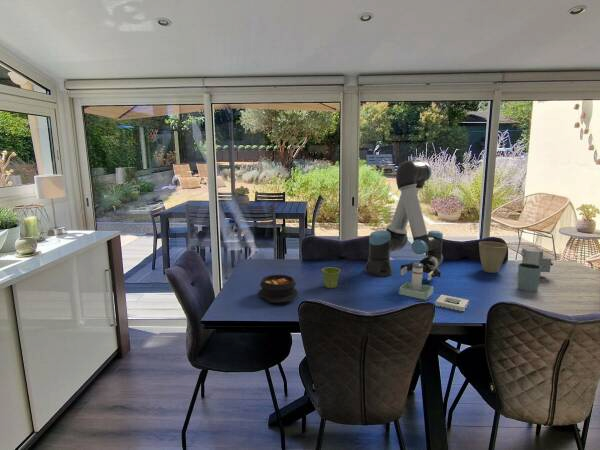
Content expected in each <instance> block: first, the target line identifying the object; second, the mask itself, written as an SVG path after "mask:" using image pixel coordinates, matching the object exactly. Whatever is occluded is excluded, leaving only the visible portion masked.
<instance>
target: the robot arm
mask: <svg viewBox="0 0 600 450" xmlns="http://www.w3.org/2000/svg"><path fill="white" fill-rule="evenodd" d="M395 172H396V173H395V182H396V186H397V189H398V191H400V195H399V199H398V202H397V206H396V208H395V211H394V214H393V218H392V221H391V223H390V224H388V225H387V227H386V230H375V231H372V232H371V233H370V234H369V238H368V260H367V263H366V265H365V268H364V273H365V274H366V275H369V276H372V277H373V276H374V277H378V278H379V277H380V278H381V277H382V278H383V277H389V276H391V275H393V267H392V264H391V258H390V257H391V253H392V252H396V251H399V250H401V249H403V248H404V247H406V245H407V244H408V240H409V237H408V230H407V226H408V224H409V228H410V232H411V235H412V240H413V241H412V243H411V246H410V247H411V251H412V252H413V253H414V254H416V255H424V254H426V256H425V257H423V258H422V259H421V260H420V261H419V262H418V263H421V264H423V273H425V274H427V281H430V280H431V279H433V278H436V277H438V278H441V275H442V274H441V273H442V272H441V269H440V265H441V264H442V262H443V260H444V256H443V253H442V252H443V251H442V250H443V241H444V238H443V237H444V235H443V232H441V231H440V230H428V231H427V227H426V224H425V220H424V219H425V218H424V215H423V212H422V208H421V203H420V200H419V196H418V194H419V191H420V190H421V189H423V188H424V186H425V183H426V182H427V181H428V180H429V179H430V178H431V176H432V168H431V165H430V164H429V163H428V162H426V161H425V160H419V159H418V160H417V159H416V160H405V161H403V162H401V163H400V164H399V165H398V167H397V169H396V171H395ZM413 263H415V261H412V262H409V263H406V264H405V263H404V264H401V265H400V275H401V276H403V275H405V274H406V273H408V272H410V271H411V272H412V268H413V267H412V264H413Z"/></svg>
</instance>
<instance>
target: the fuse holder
mask: <svg viewBox="0 0 600 450" xmlns="http://www.w3.org/2000/svg"><path fill="white" fill-rule="evenodd" d="M448 301H449V302H448ZM469 301H470V300H469V299H464V298H461V297H460V298H459V297H455V296H450V295H447V294H441V295H440V296H439V297H438V298H437V299H436V300H435V304H434V305H436V307H440V306H441V308H444V307H445V309H449V308H450V310H453V309H454V310H455V311H458V310H459V311H458V312H462V311H464V312H465V310H466V309H467V308H468V306H469ZM457 303H459V304H457ZM467 305H468V306H467ZM465 308H466V309H465Z"/></svg>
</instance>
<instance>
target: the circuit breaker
mask: <svg viewBox="0 0 600 450" xmlns="http://www.w3.org/2000/svg"><path fill="white" fill-rule="evenodd" d="M521 249H522V250H521V253H520V256H521V257H522V260H521V263H530V264H535V265H539V266H541V273H540V275H541V274H542V273H550V272H551V266H554V263H553V262H552V258H551V257H549V256H547V255H546V254H544V251H542V250H541V249H540V248H535V247H532V248H531V247H522V248H521ZM539 279H541V276H540V277H539Z"/></svg>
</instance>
